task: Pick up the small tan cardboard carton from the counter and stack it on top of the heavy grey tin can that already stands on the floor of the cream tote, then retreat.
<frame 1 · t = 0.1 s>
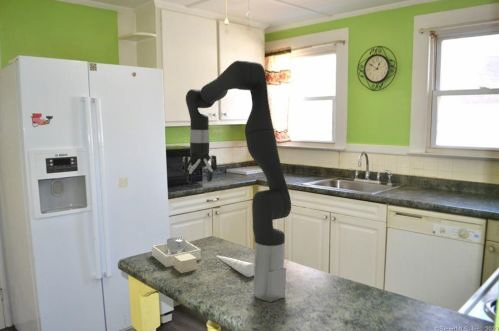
hand: (199, 182, 154), 29 cm above the countertop, tool pointing down, fingers open, 8 cm apart
tin can: (176, 257, 151), point 1 cm above the countertop, touching tote
carton: (185, 270, 140), on the countertop
tote: (176, 258, 151), on the countertop
unicorn horn: (232, 268, 144), on the countertop
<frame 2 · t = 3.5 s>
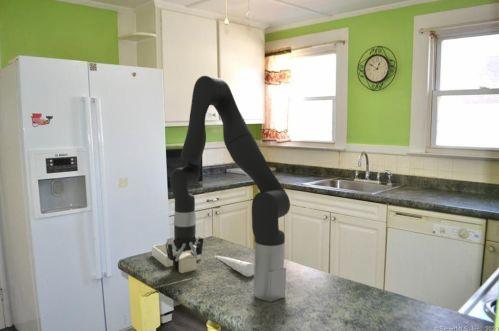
hand: (185, 268, 140), 1 cm above the countertop, tool pointing down, fingers closed on carton, 6 cm apart
carton: (185, 270, 140), on the countertop, touching gripper
everything else where it was.
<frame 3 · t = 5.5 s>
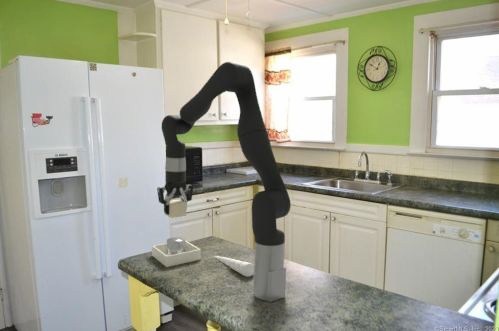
hand: (175, 212, 147), 19 cm above the countertop, tool pointing down, fingers closed on carton, 6 cm apart
carton: (175, 214, 147), point 18 cm above the countertop, touching gripper
everything else where it was.
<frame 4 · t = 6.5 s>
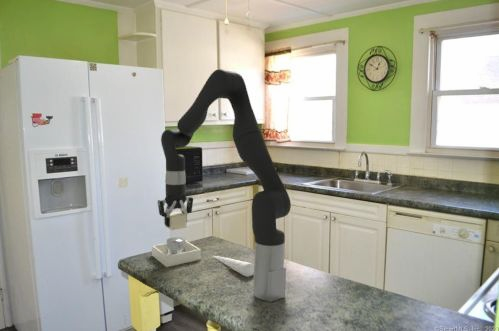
hand: (175, 225, 149), 13 cm above the countertop, tool pointing down, fingers closed on carton, 6 cm apart
carton: (175, 227, 149), point 13 cm above the countertop, touching gripper
everything else where it was.
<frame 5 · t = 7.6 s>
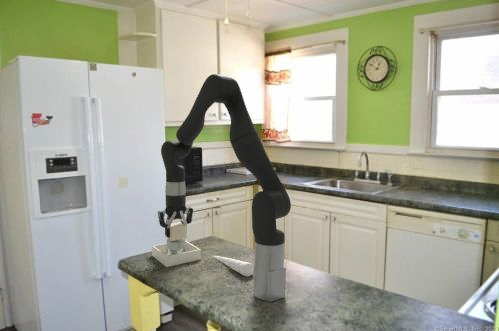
hand: (176, 235, 150), 9 cm above the countertop, tool pointing down, fingers closed on carton, 5 cm apart
carton: (175, 237, 150), point 9 cm above the countertop, touching gripper
everything else where it was.
when the fingers open (9 cm above the countertop, at t = 7.7 s): carton stays where it is, resting on tin can.
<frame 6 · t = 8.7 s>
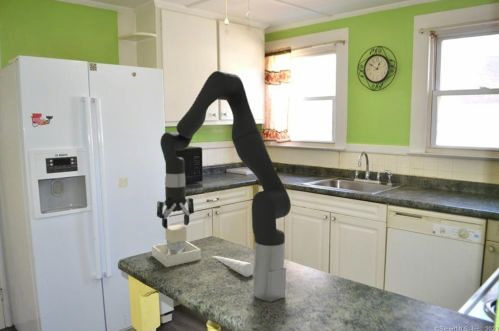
hand: (176, 226, 149), 13 cm above the countertop, tool pointing down, fingers open, 8 cm apart
tin can: (176, 257, 151), point 1 cm above the countertop, touching carton, tote
carton: (175, 240, 150), point 8 cm above the countertop, touching tin can
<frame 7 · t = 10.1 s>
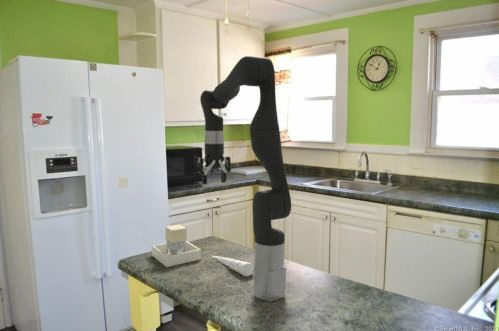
hand: (214, 183, 153), 29 cm above the countertop, tool pointing down, fingers open, 8 cm apart
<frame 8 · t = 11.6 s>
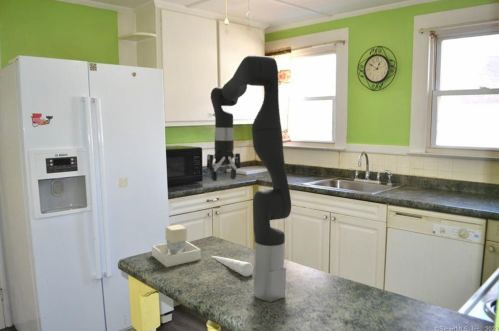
hand: (223, 179, 155), 30 cm above the countertop, tool pointing down, fingers open, 8 cm apart
at the end: carton 0.0 cm off-centre on the tin can, point 7.0 cm above the tin can's base; carton tilted 0°; the gripper is holding nothing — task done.
